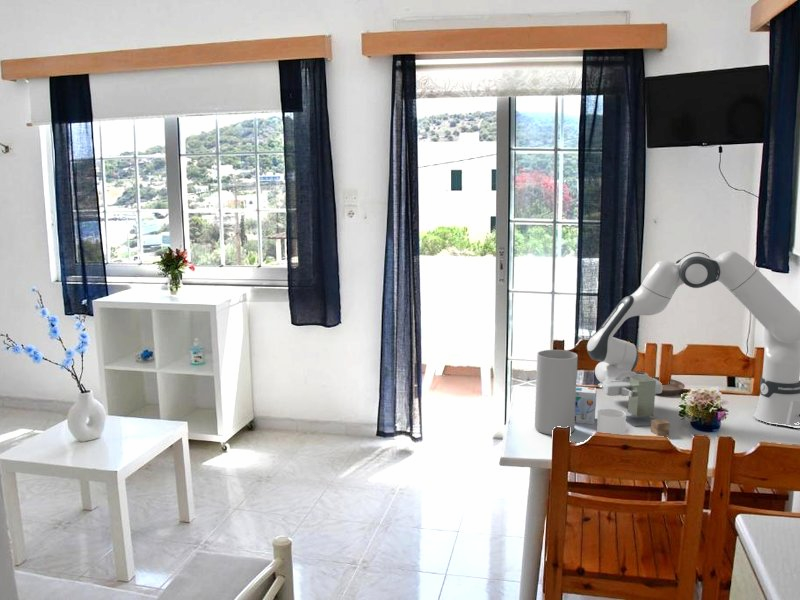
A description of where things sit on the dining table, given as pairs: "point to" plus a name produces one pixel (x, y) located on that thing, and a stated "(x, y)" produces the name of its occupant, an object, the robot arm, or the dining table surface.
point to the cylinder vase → (555, 390)
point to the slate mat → (639, 420)
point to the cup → (611, 421)
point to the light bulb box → (585, 405)
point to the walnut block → (660, 427)
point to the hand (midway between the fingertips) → (643, 394)
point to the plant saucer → (671, 387)
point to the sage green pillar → (642, 396)
